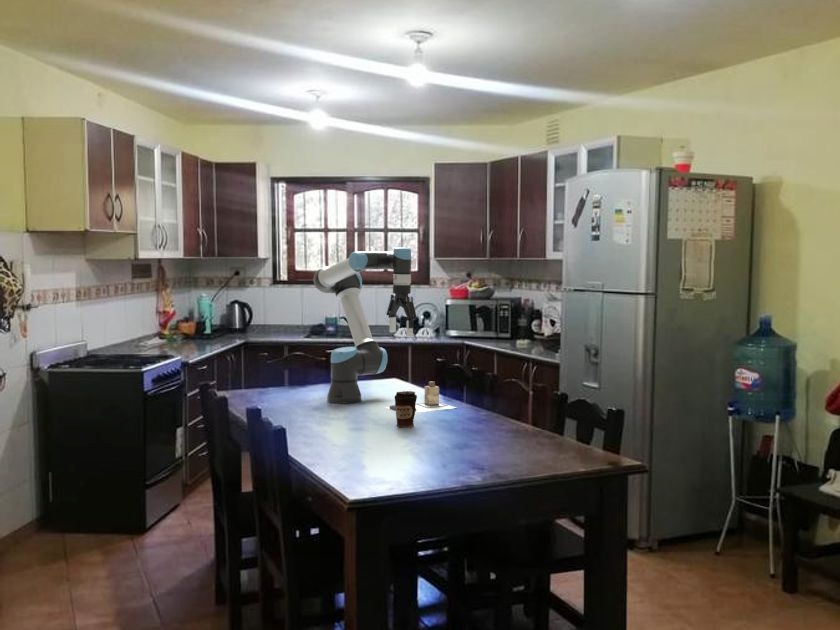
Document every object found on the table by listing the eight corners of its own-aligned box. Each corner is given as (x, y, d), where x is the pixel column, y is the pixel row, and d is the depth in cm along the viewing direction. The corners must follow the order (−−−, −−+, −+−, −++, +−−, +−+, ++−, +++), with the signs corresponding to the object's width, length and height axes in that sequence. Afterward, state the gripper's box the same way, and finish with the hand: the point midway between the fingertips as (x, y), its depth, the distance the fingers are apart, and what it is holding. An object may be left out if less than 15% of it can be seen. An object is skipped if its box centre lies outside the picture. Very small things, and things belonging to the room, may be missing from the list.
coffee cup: (414, 429, 282) (414, 394, 281) (392, 428, 283) (392, 393, 282) (418, 424, 290) (418, 390, 289) (397, 423, 292) (397, 389, 291)
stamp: (424, 404, 328) (424, 381, 327) (433, 403, 330) (433, 380, 330) (430, 406, 324) (430, 383, 323) (439, 405, 326) (439, 382, 326)
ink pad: (389, 408, 319) (389, 405, 319) (404, 407, 322) (404, 403, 322) (401, 412, 310) (401, 409, 310) (416, 411, 314) (416, 407, 314)
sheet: (383, 407, 322) (383, 406, 322) (435, 402, 336) (435, 400, 336) (403, 414, 308) (403, 413, 308) (457, 408, 321) (457, 407, 321)
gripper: (379, 282, 331) (378, 331, 333) (410, 286, 311) (409, 338, 313) (394, 282, 335) (393, 330, 337) (425, 285, 315) (424, 337, 317)
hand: (400, 334), depth 325 cm, fingers open, 13 cm apart
